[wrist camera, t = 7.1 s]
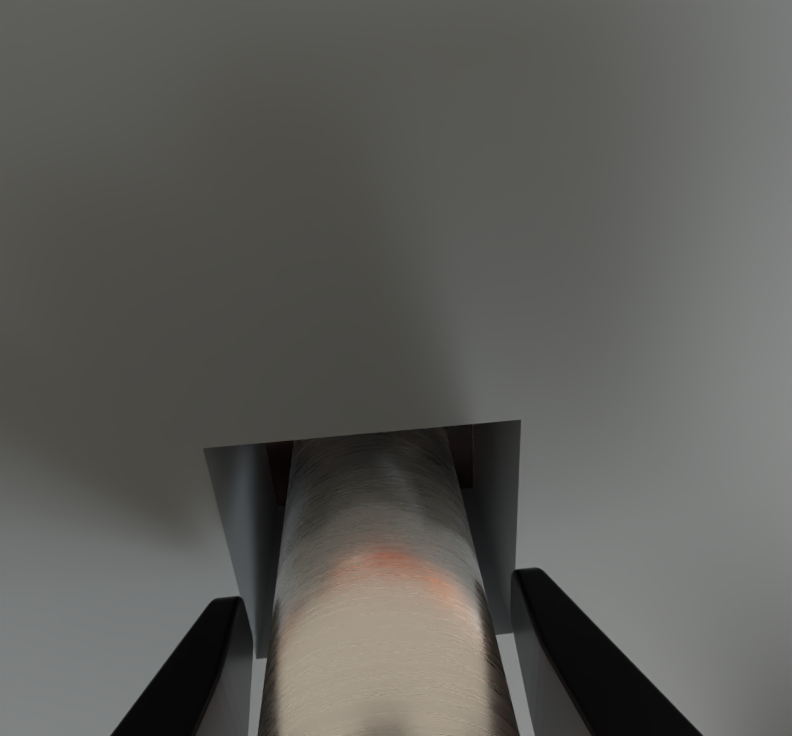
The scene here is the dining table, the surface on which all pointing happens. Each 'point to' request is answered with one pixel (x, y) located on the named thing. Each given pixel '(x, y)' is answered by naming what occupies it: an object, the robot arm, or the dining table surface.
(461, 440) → the dining table surface
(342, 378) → the hole block
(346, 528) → the steel peg
